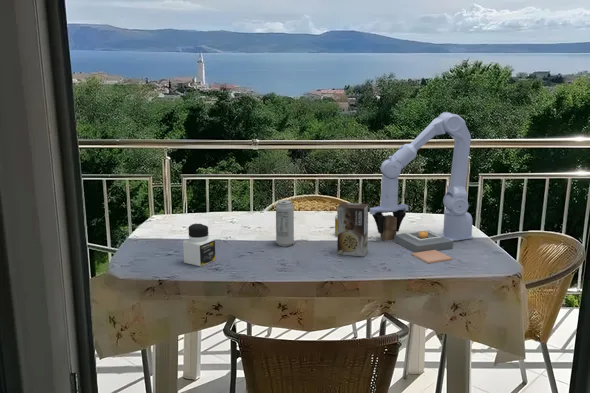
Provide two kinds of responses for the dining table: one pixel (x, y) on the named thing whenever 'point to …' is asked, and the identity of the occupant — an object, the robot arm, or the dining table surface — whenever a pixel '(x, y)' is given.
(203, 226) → the medicine bottle
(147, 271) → the dining table surface
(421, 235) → the button
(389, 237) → the brown rectangular block
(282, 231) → the energy drink can
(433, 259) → the terracotta tile
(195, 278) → the dining table surface
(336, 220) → the supplement bottle
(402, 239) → the grey square socket base
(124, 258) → the dining table surface
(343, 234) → the coffee box
